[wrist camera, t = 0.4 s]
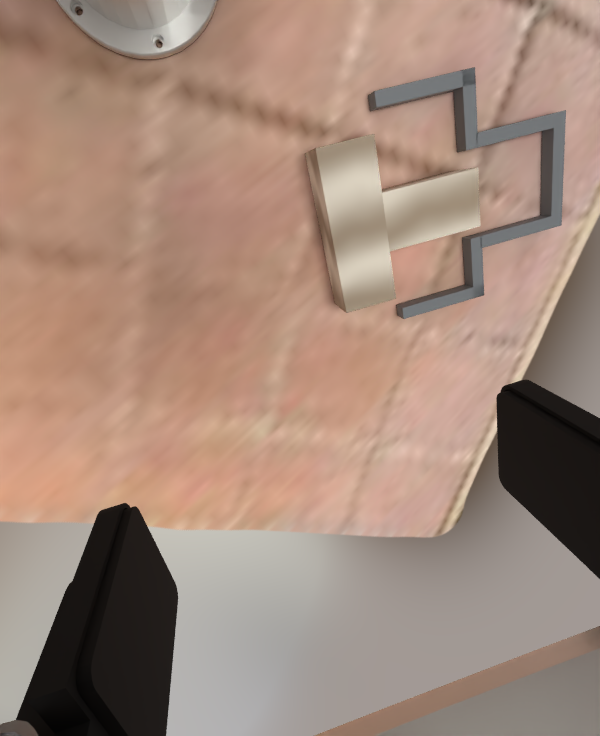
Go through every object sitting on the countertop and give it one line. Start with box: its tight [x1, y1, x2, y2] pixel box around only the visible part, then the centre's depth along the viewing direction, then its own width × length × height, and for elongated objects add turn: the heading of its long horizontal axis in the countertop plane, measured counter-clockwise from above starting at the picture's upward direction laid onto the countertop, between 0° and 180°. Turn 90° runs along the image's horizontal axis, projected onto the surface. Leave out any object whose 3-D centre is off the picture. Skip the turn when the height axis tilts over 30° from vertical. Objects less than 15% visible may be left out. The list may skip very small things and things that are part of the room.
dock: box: [368, 67, 566, 319], centre depth 40 cm, size 20×18×2 cm
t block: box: [305, 134, 480, 313], centre depth 38 cm, size 14×14×4 cm
